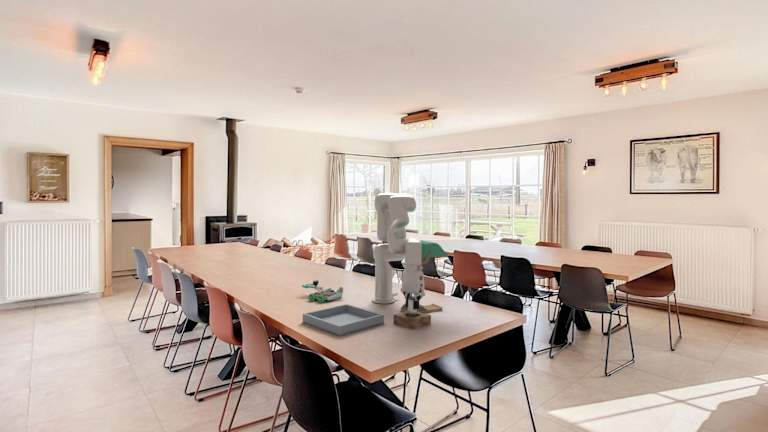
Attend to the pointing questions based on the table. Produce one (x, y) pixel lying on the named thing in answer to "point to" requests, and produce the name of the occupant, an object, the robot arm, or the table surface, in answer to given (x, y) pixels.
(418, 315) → the brown square hollow block
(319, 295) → the robot kit
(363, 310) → the tray
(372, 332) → the table surface
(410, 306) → the pin
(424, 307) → the banker's lamp
